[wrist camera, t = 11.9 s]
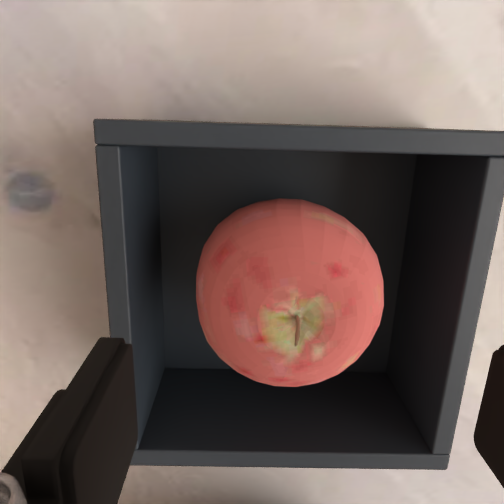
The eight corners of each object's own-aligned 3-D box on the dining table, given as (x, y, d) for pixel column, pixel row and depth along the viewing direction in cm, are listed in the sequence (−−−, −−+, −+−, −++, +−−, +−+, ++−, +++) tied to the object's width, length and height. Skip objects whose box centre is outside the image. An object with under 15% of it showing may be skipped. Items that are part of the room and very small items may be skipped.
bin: (142, 119, 20) (92, 118, 13) (430, 128, 20) (518, 131, 14) (154, 371, 24) (119, 466, 17) (393, 376, 24) (447, 470, 18)
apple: (346, 331, 22) (399, 437, 14) (205, 327, 22) (183, 431, 14) (361, 189, 20) (433, 224, 12) (207, 183, 20) (182, 214, 12)
